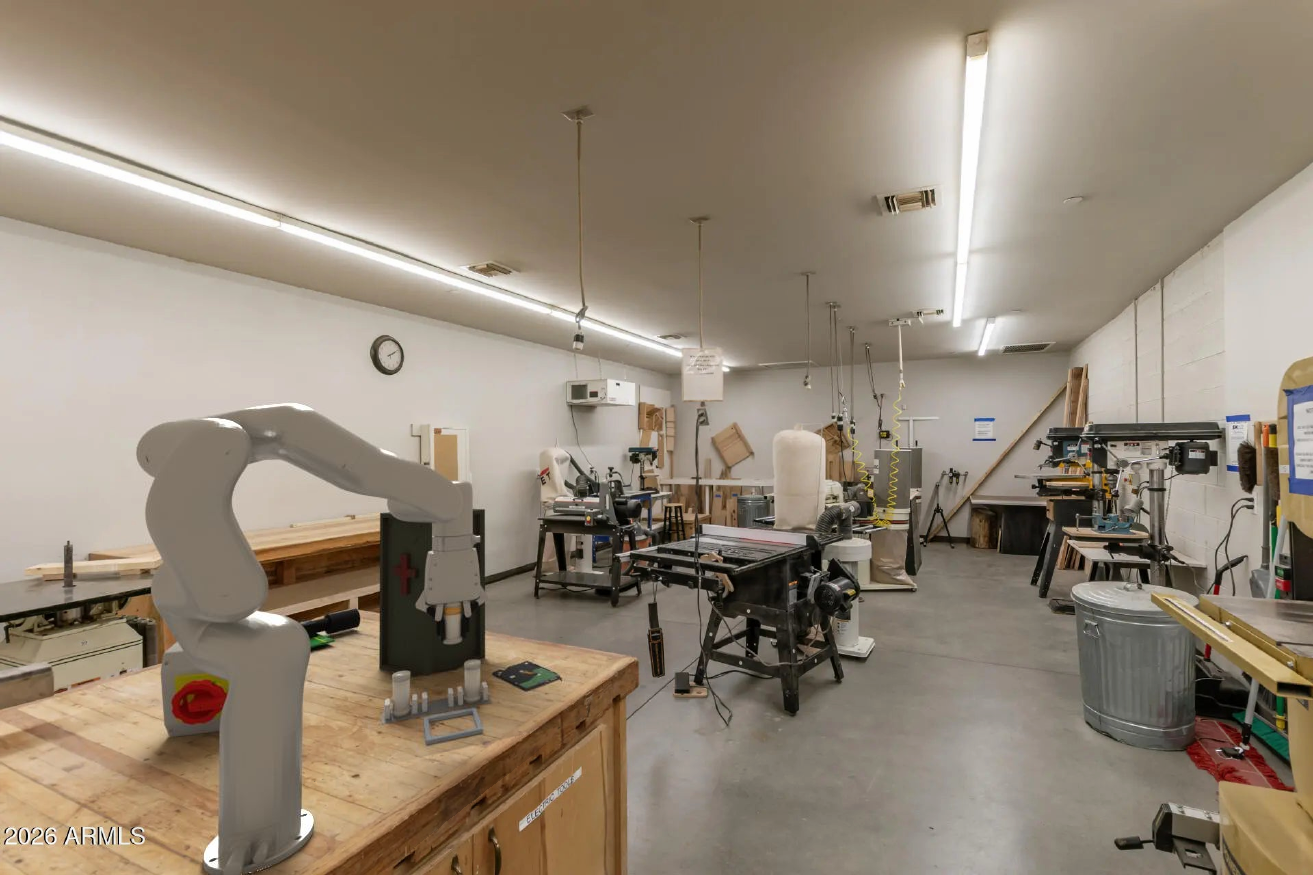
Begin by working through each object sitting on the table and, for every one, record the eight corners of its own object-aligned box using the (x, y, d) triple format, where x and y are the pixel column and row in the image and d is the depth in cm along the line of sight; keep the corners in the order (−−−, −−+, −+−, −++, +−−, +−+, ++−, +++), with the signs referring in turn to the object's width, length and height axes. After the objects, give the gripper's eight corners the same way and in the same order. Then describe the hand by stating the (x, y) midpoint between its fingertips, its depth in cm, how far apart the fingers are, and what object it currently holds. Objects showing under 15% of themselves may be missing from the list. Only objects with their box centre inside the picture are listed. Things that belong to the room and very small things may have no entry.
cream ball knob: (481, 701, 119) (481, 663, 119) (465, 704, 118) (465, 666, 118) (479, 695, 122) (479, 658, 123) (463, 698, 121) (463, 661, 121)
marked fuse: (461, 637, 111) (460, 597, 111) (462, 642, 108) (462, 600, 108) (442, 640, 109) (442, 599, 110) (444, 645, 106) (444, 603, 107)
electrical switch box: (149, 763, 103) (141, 661, 101) (192, 716, 117) (186, 625, 115) (241, 751, 107) (235, 652, 105) (272, 707, 121) (268, 619, 119)
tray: (482, 740, 105) (482, 728, 105) (426, 752, 101) (426, 740, 101) (476, 718, 114) (476, 707, 115) (423, 729, 110) (423, 717, 110)
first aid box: (379, 668, 143) (380, 512, 144) (439, 647, 159) (439, 507, 160) (426, 682, 134) (427, 515, 135) (485, 657, 150) (484, 509, 151)
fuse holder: (491, 709, 118) (491, 689, 118) (381, 731, 109) (381, 709, 109) (486, 697, 125) (486, 677, 125) (382, 717, 116) (382, 696, 116)
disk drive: (491, 683, 134) (526, 700, 124) (490, 671, 134) (525, 687, 124) (527, 671, 142) (563, 685, 131) (527, 659, 142) (563, 673, 132)
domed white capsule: (410, 714, 113) (410, 675, 113) (391, 718, 112) (392, 678, 112) (410, 708, 116) (410, 669, 117) (392, 711, 115) (392, 672, 115)
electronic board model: (260, 639, 146) (239, 629, 155) (260, 665, 146) (238, 654, 155) (373, 613, 171) (349, 606, 179) (373, 635, 170) (348, 627, 179)
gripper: (492, 538, 116) (493, 626, 115) (406, 544, 109) (406, 638, 108) (498, 542, 109) (499, 637, 109) (407, 549, 102) (406, 650, 102)
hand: (452, 636), depth 109 cm, fingers closed on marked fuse, 3 cm apart
